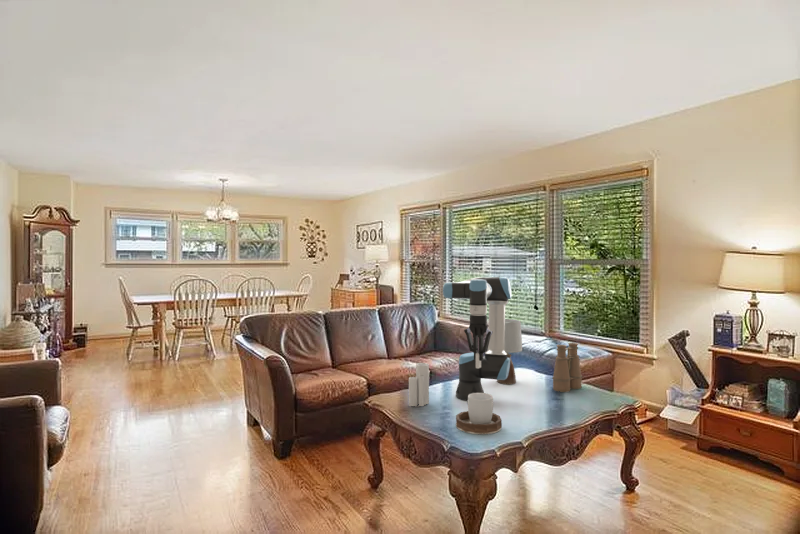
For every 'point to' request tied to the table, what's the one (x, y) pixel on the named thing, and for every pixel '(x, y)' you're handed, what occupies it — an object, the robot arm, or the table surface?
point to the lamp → (512, 346)
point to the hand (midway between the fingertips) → (478, 367)
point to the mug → (480, 408)
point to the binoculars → (567, 369)
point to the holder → (466, 425)
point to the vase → (419, 386)
